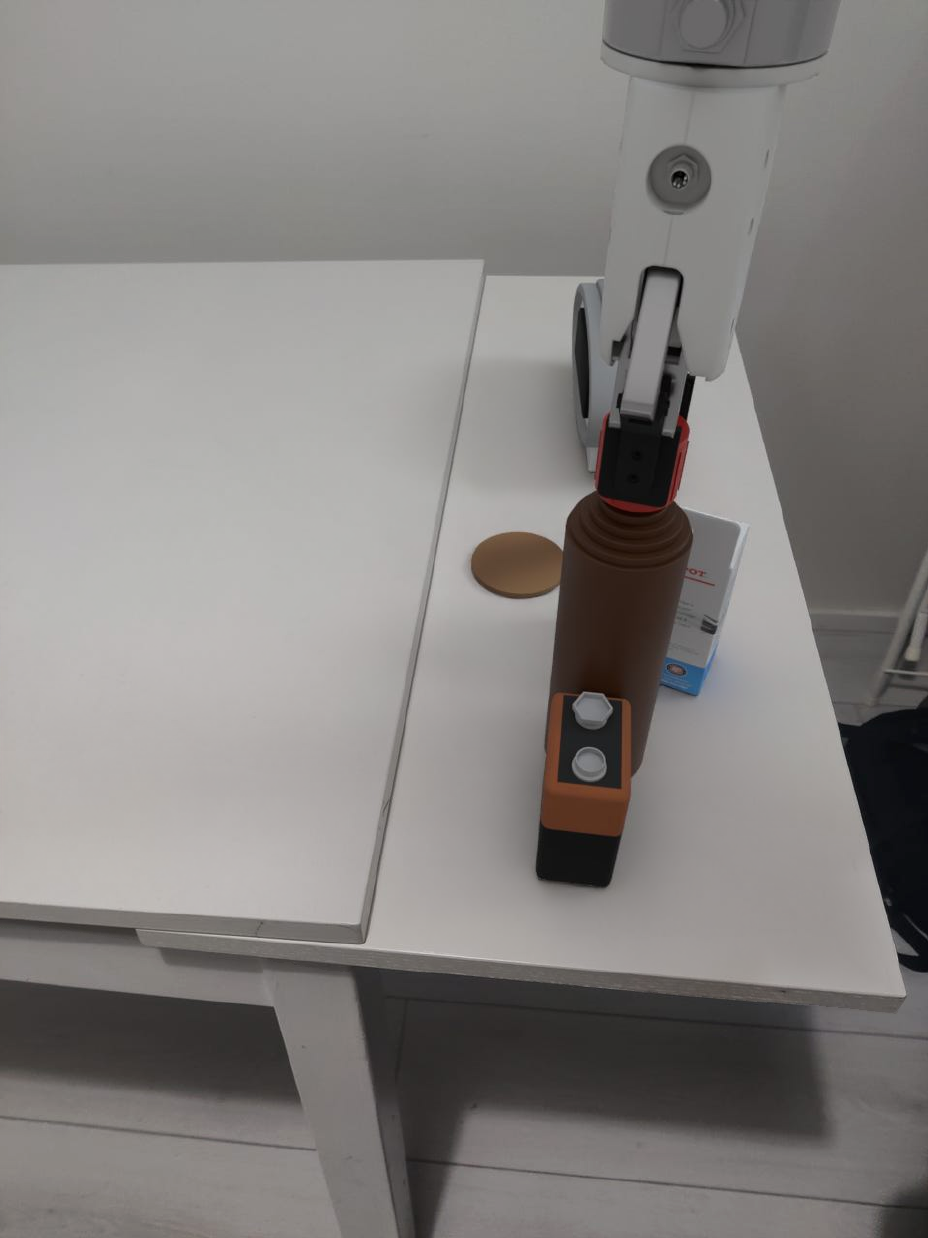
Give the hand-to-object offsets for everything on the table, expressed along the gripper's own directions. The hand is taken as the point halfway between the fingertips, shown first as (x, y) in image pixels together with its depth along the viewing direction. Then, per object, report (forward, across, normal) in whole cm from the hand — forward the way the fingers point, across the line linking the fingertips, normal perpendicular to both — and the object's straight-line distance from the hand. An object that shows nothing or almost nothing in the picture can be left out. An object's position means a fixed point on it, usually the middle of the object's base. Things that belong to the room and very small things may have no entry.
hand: (640, 467), depth 42 cm
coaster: (+22, +16, +9) cm, 29 cm away
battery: (+22, -7, 0) cm, 23 cm away
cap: (+1, 0, 0) cm, 1 cm away
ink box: (+22, +10, -2) cm, 24 cm away
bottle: (+22, 0, 0) cm, 22 cm away
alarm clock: (+22, +39, +7) cm, 45 cm away
